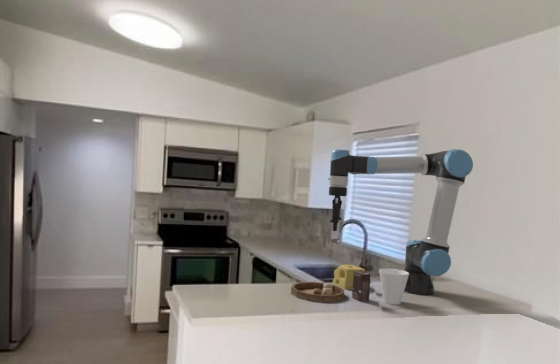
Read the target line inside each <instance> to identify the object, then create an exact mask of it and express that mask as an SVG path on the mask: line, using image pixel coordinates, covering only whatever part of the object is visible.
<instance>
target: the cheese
mask: <svg viewBox="0 0 560 364" xmlns="http://www.w3.org/2000/svg"><path fill="white" fill-rule="evenodd" d="M333 271H334V272H333V275H334V276H333V277H334V278H333V279H332V285H335V286H338V287H340V288H342V289H344V290H353V274H354V271H364V272H366V269H365V268H362V267H360V266H356V265H355V264H341V265H340V266H338V267H336V269H334V270H333Z"/></svg>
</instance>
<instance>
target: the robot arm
mask: <svg viewBox="0 0 560 364" xmlns="http://www.w3.org/2000/svg"><path fill="white" fill-rule="evenodd" d="M329 167H330V169H329V170H330V171H329V177H328V181H329V187H328V195H329V196H334V198H333V199H332V201H331V202H332V217H331V218H332V219H330V220H329V221H330V223H331V233H330V239H332V240H338V239H339V236H340V223H341V220H342V217H341V210H342V204H343V200H342V198H341V197H347V196H348V195H347V194H348V188H347V187H348V182H349V177H348V176H349V174H351V175H353V176H355V175H376V174H377V175H378V174H379V175H381V174H382V175H383V174H386V175H387V174H421V175H422V176H432V177H433V176H434V177H435V180H436V181H437V187H436V191H435V192H436V193H435V196H434V200H433V201H434V202H433V203H432V204H433V205H432V209H431V214H430V218H429V221H428V222H429V223H428V227H427V232H426V234H425V237H423V238H422V239H421V240H417V239H416V240H415V239H412V240H411V239H409V240H407V241H406V245H405V261H404V271H406V272H408V273H409V276H408V279H407V283H406V286H405V290H404V293H405V292H406V293H410V294H414V295H415V294H416V295H425V296H427V295H433V294H434V293H435V285H434V282H433V278H432V276H433V277H441V276H443V275H444V274H446V273H447V272H448V271H449V269H450V268H451V265H452V258H451V257H450V254H449V252H450V245H449V243H448V238H449V234H450V231H451V226H452V221H453V217H454V213H455V212H454V211H455V207H456V203H457V199H458V194H459V190H460V187H461V186H463V185H465V180H466V177H467V176H468V175H470V173H471V172H472V171H473V167H474V162H473V158H472V157H471V155H470V154H469V153H468V152H467V151H465V150H463V149H455V148H453V149H450V150H443V151H439V152H438V151H437V152H434V153H433V152H432V153H423V154H421V155H420V156H386V157H385V156H383V157H382V156H379V157H378V156H377V157H375V156H367V155H366V156H365V155H352V154H350V150H348V149H334V150H332V151H331V156H330V166H329Z"/></svg>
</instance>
